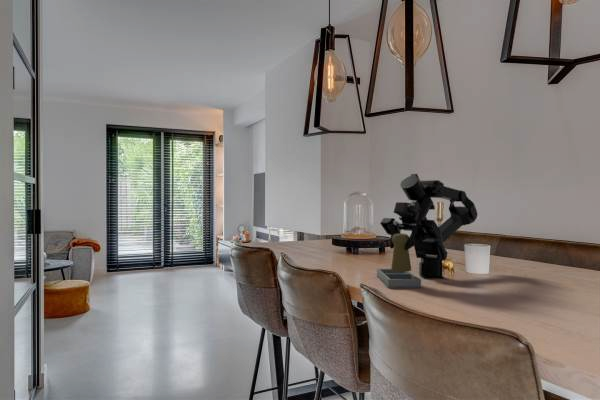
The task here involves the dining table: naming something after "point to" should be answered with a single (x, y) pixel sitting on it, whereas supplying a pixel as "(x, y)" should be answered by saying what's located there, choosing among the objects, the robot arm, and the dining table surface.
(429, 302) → the dining table surface
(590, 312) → the dining table surface
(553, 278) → the dining table surface
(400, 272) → the grey divided tray
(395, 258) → the olive green upright block
